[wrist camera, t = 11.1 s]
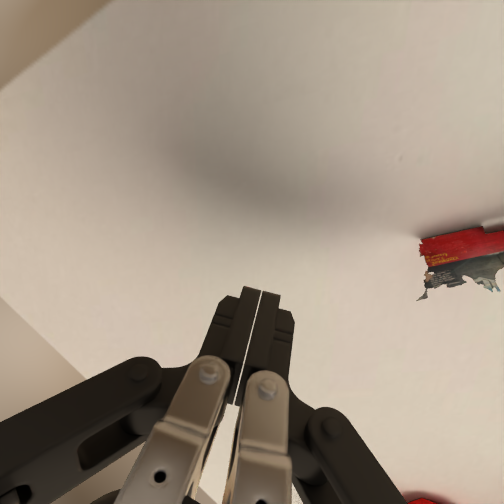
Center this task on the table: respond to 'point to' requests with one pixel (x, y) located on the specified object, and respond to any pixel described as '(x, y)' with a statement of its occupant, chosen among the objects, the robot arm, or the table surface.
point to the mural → (463, 258)
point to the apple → (422, 501)
